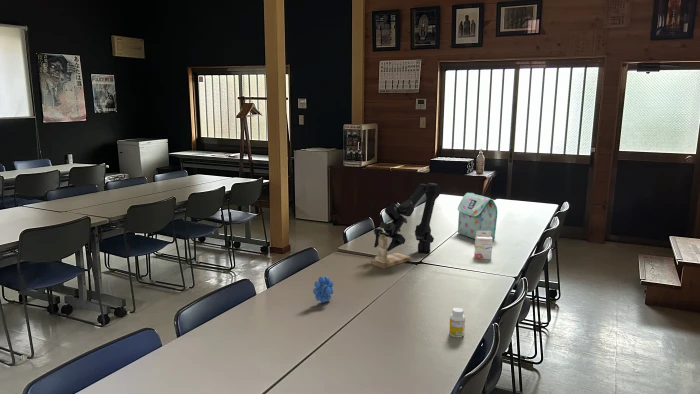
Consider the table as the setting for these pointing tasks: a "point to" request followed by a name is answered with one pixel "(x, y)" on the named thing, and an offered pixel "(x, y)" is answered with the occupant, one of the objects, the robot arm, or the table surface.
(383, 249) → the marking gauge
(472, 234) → the lunch bag
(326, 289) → the blue knobbly wheel
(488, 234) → the ink cartridge box
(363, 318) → the table surface
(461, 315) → the supplement bottle
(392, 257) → the oak board
